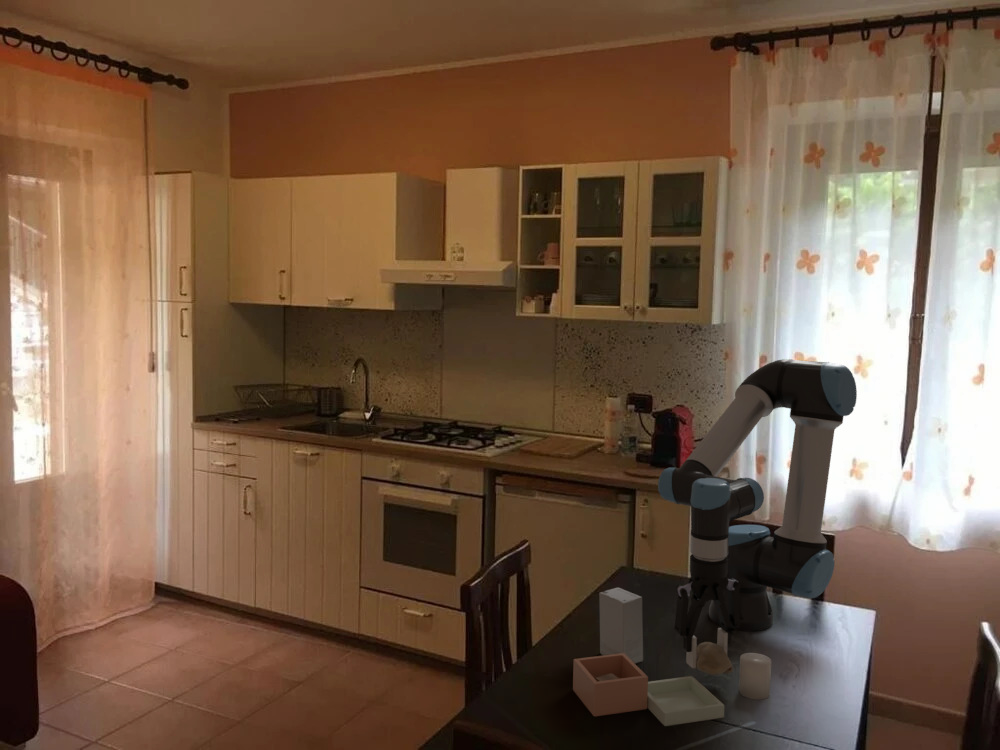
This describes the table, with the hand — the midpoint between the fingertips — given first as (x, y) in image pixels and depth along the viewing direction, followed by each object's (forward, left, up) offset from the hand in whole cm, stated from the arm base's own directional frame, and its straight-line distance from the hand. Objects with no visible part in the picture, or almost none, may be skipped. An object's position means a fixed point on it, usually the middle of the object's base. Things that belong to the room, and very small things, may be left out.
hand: (706, 662), depth 177 cm
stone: (0, +2, -1) cm, 2 cm away
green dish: (+11, +8, -4) cm, 14 cm away
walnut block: (+23, +2, -4) cm, 23 cm away
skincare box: (+13, -15, -5) cm, 20 cm away
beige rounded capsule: (-7, +6, -4) cm, 11 cm away
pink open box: (+23, +2, -4) cm, 23 cm away
